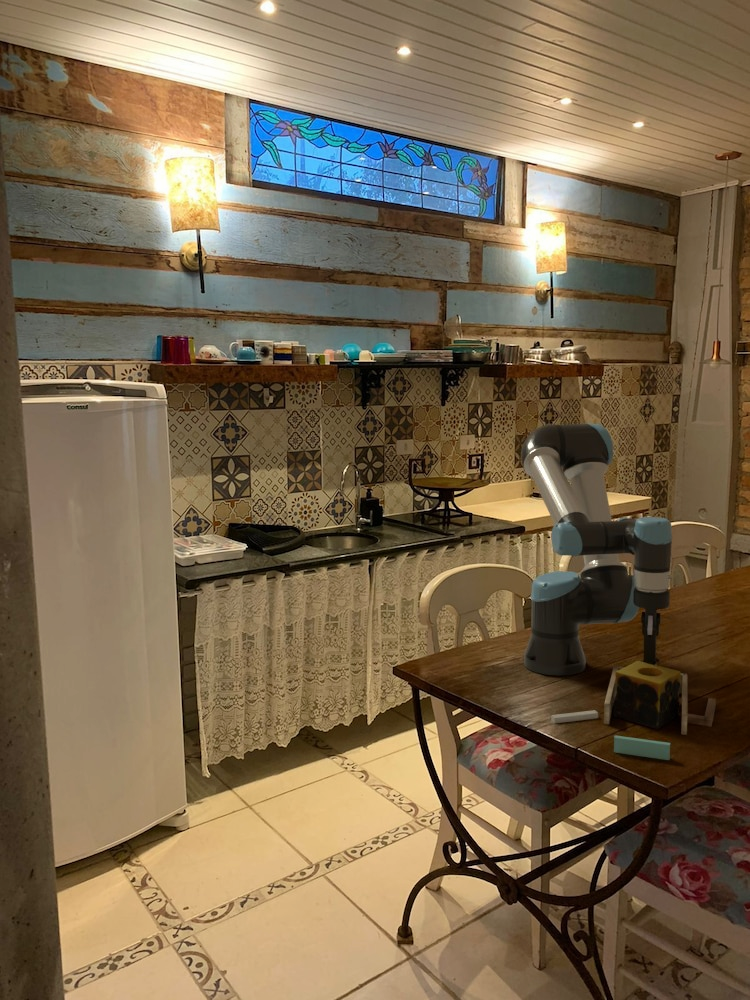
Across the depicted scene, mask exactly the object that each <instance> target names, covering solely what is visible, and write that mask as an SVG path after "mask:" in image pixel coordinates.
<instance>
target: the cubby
mask: <svg viewBox="0 0 750 1000" xmlns="http://www.w3.org/2000/svg"><path fill="white" fill-rule="evenodd" d="M625 667H626V666H625ZM625 667H624V666H613V668H612V672H611V677H610V679H609V684H608V688H607V692H606V695H605V701H604V706H603V707H604V708H603V710H604V711H603V713H604V714H603V725H610V722H611V717H612V714H613V713H612V712H613V710H614V706H615V705H614V699H615V696H616V689H617V685H616V676H615V673H616V671H618V670H620V669H622V668H625ZM679 695H681V723H680V724H681V725H680V726H681V727H680V728H681V729H680V731H681V732H680V733H681V735H686V736H687V734H688V723H687V714H688V673H681V679H680V688H679Z"/></svg>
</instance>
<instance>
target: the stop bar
mask: <svg viewBox="0 0 750 1000" xmlns="http://www.w3.org/2000/svg"><path fill="white" fill-rule="evenodd" d="M613 753H617V754H623V755H631V756H636V757H645V758H651V759H658V760H664V761H670V757H671V756H670V755H671V742H665V741H659V740H650V739H645V738H636V737H629V736H628V737H627V736H622V735H614V736H613Z"/></svg>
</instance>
